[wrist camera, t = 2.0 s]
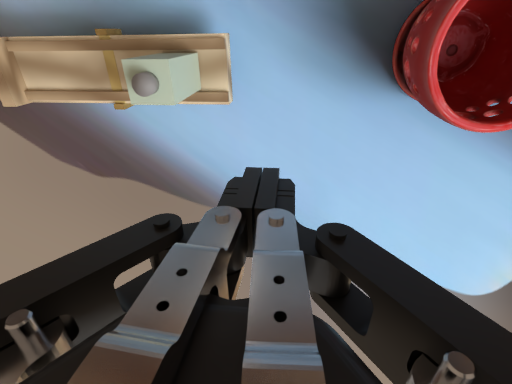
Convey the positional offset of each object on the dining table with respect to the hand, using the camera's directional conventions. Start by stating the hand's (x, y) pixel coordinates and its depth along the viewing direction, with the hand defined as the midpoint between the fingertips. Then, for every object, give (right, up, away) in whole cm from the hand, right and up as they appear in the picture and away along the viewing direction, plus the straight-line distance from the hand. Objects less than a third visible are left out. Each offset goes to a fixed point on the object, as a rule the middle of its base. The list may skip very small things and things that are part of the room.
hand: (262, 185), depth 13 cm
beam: (-16, +16, +24) cm, 33 cm away
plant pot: (+21, +16, +19) cm, 33 cm away
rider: (-8, +13, +17) cm, 23 cm away
